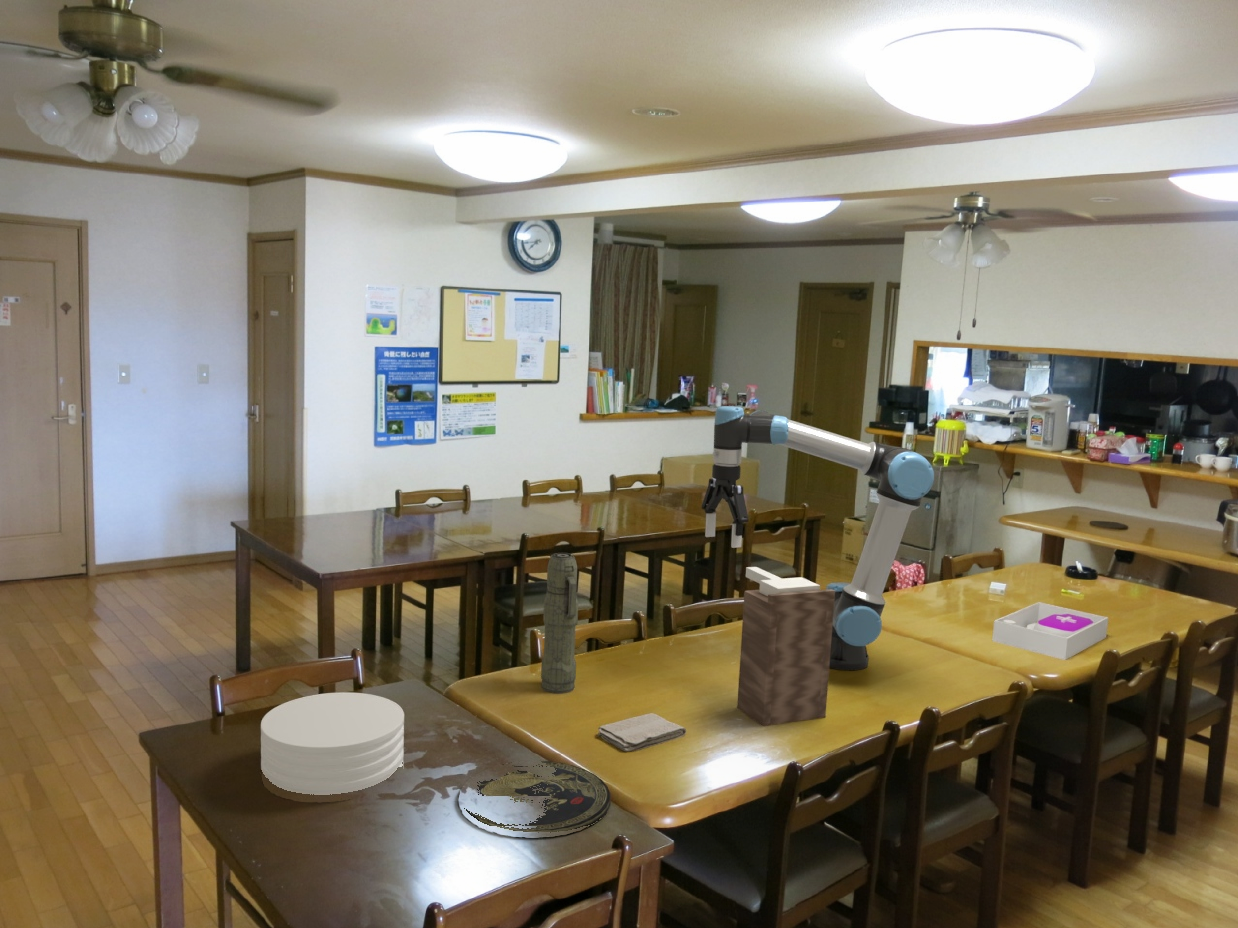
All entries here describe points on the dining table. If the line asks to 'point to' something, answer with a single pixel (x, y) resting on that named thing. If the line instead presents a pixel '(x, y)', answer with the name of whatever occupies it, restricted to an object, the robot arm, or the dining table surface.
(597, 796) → the decorative plate
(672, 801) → the dining table surface
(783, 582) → the beige stepped block
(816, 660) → the walnut stand
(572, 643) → the thermos
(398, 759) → the plate stack
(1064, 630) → the white open tray
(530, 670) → the dining table surface
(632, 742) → the washcloth
